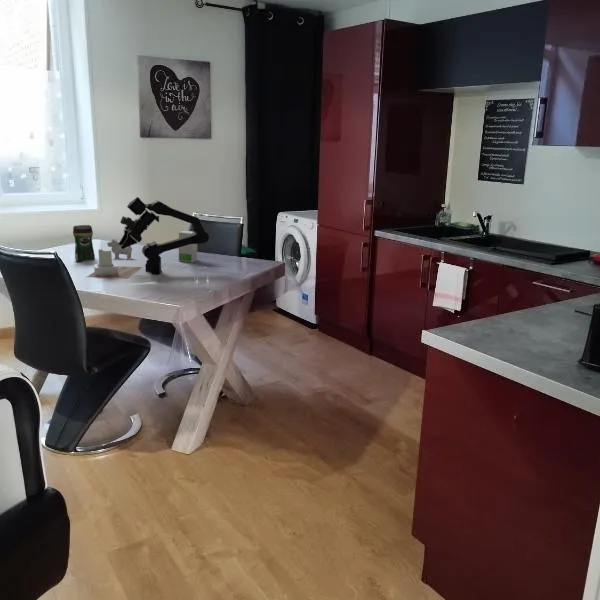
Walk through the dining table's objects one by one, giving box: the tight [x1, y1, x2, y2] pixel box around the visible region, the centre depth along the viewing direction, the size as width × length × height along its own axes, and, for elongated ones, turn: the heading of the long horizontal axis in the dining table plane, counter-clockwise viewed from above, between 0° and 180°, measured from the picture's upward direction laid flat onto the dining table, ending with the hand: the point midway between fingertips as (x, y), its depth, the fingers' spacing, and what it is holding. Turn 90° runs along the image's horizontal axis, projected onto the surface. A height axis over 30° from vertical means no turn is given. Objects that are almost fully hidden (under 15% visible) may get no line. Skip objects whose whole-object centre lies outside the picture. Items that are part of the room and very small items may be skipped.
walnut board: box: [86, 265, 144, 279], centre depth 273 cm, size 19×24×1 cm
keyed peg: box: [98, 248, 113, 267], centre depth 267 cm, size 5×3×12 cm, turn 113°
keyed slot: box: [93, 262, 118, 276], centre depth 268 cm, size 10×8×4 cm
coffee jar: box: [72, 224, 96, 263], centre depth 296 cm, size 10×8×19 cm
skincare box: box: [178, 230, 198, 263], centre depth 305 cm, size 8×7×16 cm
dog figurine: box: [106, 238, 133, 261], centre depth 305 cm, size 5×13×11 cm, turn 91°
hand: (120, 246), depth 268 cm, fingers open, 9 cm apart
